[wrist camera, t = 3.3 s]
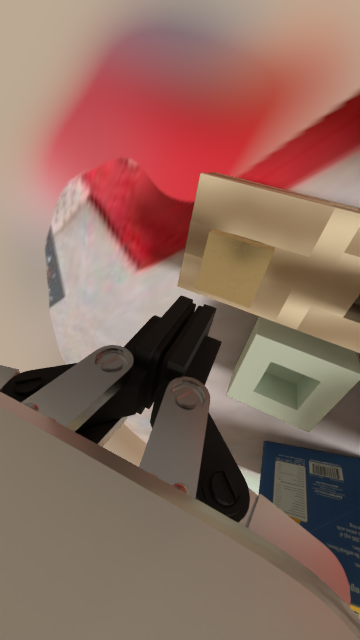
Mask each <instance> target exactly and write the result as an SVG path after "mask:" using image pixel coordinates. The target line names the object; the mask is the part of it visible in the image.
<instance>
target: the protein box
mask: <svg viewBox="0 0 360 640" xmlns="http://www.w3.org/2000/svg"><path fill="white" fill-rule="evenodd" d="M259 494H262V495H263V496H264V497H265V498H267V499H268V500H269V501H270V502H272V503H273V504H274V505H275V506H277V507H278V508H279V509H280V510H282V511H283V512H284V513H285V514H287V515H288V516H289V517H290V518H292V519H293V520H294V521H295V522H297V523H298V524H299V525H300V526H302V527H303V528H304V529H305V530H306V531H308V532H309V533H310V534H311V535H313V536H314V537H315V538H316V539H318V540H319V541H320V542H321V543H323V544H324V545H325V546H326V547H327V548H328V549H329V550H330V551H331V552H332V553H333V554H334V555H335V556H336V558H337V559H338V561H339V563H340V564H341V566H342V567H343V569H344V572H345V574H346V577H347V580H348V583H349V588H350V597H351V601H350V608H351V609H352V610H353V611H354V613H355V614H356V615H357V616H358V617H359V618H360V459H359V458H354V457H349V456H343V455H338V454H332V453H327V452H321V451H316V450H311V449H306V448H300V447H295V446H290V445H284V444H279V443H273V442H268V441H265V442H264V448H263V457H262V467H261V477H260V486H259Z"/></svg>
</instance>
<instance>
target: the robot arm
mask: <svg viewBox="0 0 360 640" xmlns="http://www.w3.org/2000/svg"><path fill="white" fill-rule="evenodd" d="M195 307H196V304H194V303H193V300H192V299H190V298H187V297H184V296H180V297H179V298H178V299H177V300H176V302H175V303H174V304H173V305H172V306H171V307H170V308H169V310H168V311H167V312H166V313H165V314H164V315H163V316H162V317H158V316H153V317H152V318H151V319H150V320H149V321H148V322H147V323H146V324H145V325H144V326H143V327H142V328H141V329H140V330H139V331H138V333H137V334H136V335H135V336H134V337H133V338H132V339H131V340H130V341H129V342H128V343H127V344H126V345H125V346H124V347H121V346H116V345H108V346H104V347H101V348H99V349H98V350H96V351H95V352H93V353H92V354H90V355H89V356H87V357H86V358H84V359H83V360H82V361H80V362H79V363H74V364H68V365H62V366H56V367H49V368H43V369H36V370H30V371H26V372H23V373H20V372H19V370H18V369H14V368H10V367H6V366H1V365H0V640H360V618H359V617H358V616H357V615H356V614H355V613H354V611H353V610H352V609H351V608H350V601H351V597H350V588H349V583H348V580H347V577H346V574H345V572H344V569H343V567H342V566H341V564H340V563H339V561H338V559H337V558H336V556H335V555H334V554H333V553H332V552H331V551H330V550H329V549H328V548H327V547H326V546H325V545H324V544H323V543H321V542H320V541H319V540H318V539H316V538H315V537H314V536H313V535H311V534H310V533H309V532H308V531H306V530H305V529H304V528H303V527H302V526H300V525H299V524H298V523H297V522H295V521H294V520H293V519H292V518H290V517H289V516H288V515H287V514H285V513H284V512H283V511H282V510H280V509H279V508H278V507H277V506H275V505H274V504H273V503H272V502H270V501H269V500H268V499H267V498H265V497H264V496H263V495H262V494H259V495H257V494H255V493H254V492H253V491H252V490H250V489H249V488H248V486H247V483H246V481H245V479H244V477H243V475H242V473H241V471H240V469H239V467H238V466H237V464H236V462H235V460H234V458H233V456H232V454H231V453H230V451H229V449H228V447H227V445H226V443H225V442H224V440H223V438H222V436H221V434H220V432H219V430H218V429H217V427H216V425H215V423H214V421H213V419H212V418H211V416H210V414H209V412H208V411H209V405H210V395H209V392H208V389H207V388H206V387H205V383H206V381H207V378H208V376H209V373H210V371H211V368H212V365H213V363H214V360H215V358H216V355H217V353H218V350H219V348H220V345H221V341H218V340H216V339H213V338H211V337H208V333H209V330H210V327H211V324H212V321H213V318H214V315H215V312H216V308H214V307H211V306H208V305H206V304H204V306H203V307H202V306H198V308H197V309H196V311H195ZM194 311H195V312H194ZM153 402H154V405H153V410H152V415H151V420H150V423H151V426H152V431H151V434H150V437H149V440H148V443H147V446H146V449H145V451H144V454H143V458H142V460H141V463H140V466H139V467H137V466H136V465H133V464H132V463H130V462H128V461H127V460H125V459H123V458H121V457H119V456H117V455H116V454H114V453H112V452H110V451H108V450H107V449H105V448H103V445H104V444H105V443H106V442H107V441H108V440H109V439H110V438H111V436H112V435H113V434H114V433H115V432H116V431H117V430H118V429H119V428H120V426H121V425H122V424H123V423H124V422H125V420H126V419H127V416H130V415H134V414H135V413H136V412H137V413H139V414H142V412H143V410H144V409H145V408H148V409H150V407H151V406H152V404H153Z"/></svg>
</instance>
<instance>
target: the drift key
mask: <svg viewBox="0 0 360 640" xmlns="http://www.w3.org/2000/svg"><path fill="white" fill-rule="evenodd" d="M274 251H275V247H272V246H269V245H266V244H262V243H259V242H256V241H253V240H249V239H246V238H243V237H239V236H236V235H233V234H230V233H226V232H223V231H220V230H216V229H212V230H211V231H209V235H208V239H207V243H206V247H205V251H204V255H203V259H202V263H201V267H200V271H199V274H198V278H197V282H196V286H195V289H198V290H201V291H204V292H206V293H209V294H212V295H215V296H217V297H220V298H223V299H226V300H228V301H231V302H234V303H237V304H239V305H242V306H245V307H248V308H250V306H251V304H252V302H253V299H254V297H255V295H256V292H257V290H258V288H259V286H260V283H261V281H262V279H263V276H264V274H265V272H266V269H267V267H268V265H269V263H270V260H271V258H272V256H273V253H274Z"/></svg>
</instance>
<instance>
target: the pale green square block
mask: <svg viewBox="0 0 360 640" xmlns="http://www.w3.org/2000/svg"><path fill="white" fill-rule="evenodd" d="M359 380H360V362H359V359H358V357H357V354H356V352H355V351H352V350H350V349H347V348H344V347H342V346H339V345H336V344H333V343H331V342H328V341H325V340H323V339H320V338H317V337H314V336H312V335H309V334H306V333H303V332H301V331H298V330H295V329H293V328H290V327H287V326H284V325H282V324H279V323H276V322H274V321H271V320H268V319H265V318H263V317H260V316H259V317H258V319H257V321H256V324H255V326H254V328H253V330H252V332H251V334H250V336H249V338H248V340H247V343H246V345H245V347H244V349H243V351H242V353H241V355H240V357H239V359H238V362H237V364H236V366H235V368H234V371H233V374H232V378H231V381H230V384H229V388H228V391H227V394H226V395H227V396H229V397H231V398H233V399H235V400H238V401H240V402H242V403H244V404H247V405H249V406H251V407H253V408H255V409H258V410H260V411H262V412H264V413H267V414H269V415H271V416H273V417H276V418H278V419H280V420H282V421H284V422H287V423H289V424H291V425H293V426H296V427H298V428H300V429H302V430H304V431H307V432H310V431H311V430H312V429H313V428H314V427H315V426H316V425H317V423H318V422H319V421H320V420H321V419H322V418H323V417H324V416H325V415H326V414H327V413H328V412H329V411H330V410H331V409H332V408H333V407H334V406H335V405H336V404H337V403H338V402H339V401H340V400H341V399H342V398H343V397H344V396H345V395H346V394H347V393H348V392H349V391H350V390H351V389H352V387H353V386H354V385H355V384H356V383H357V382H358V381H359Z"/></svg>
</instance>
